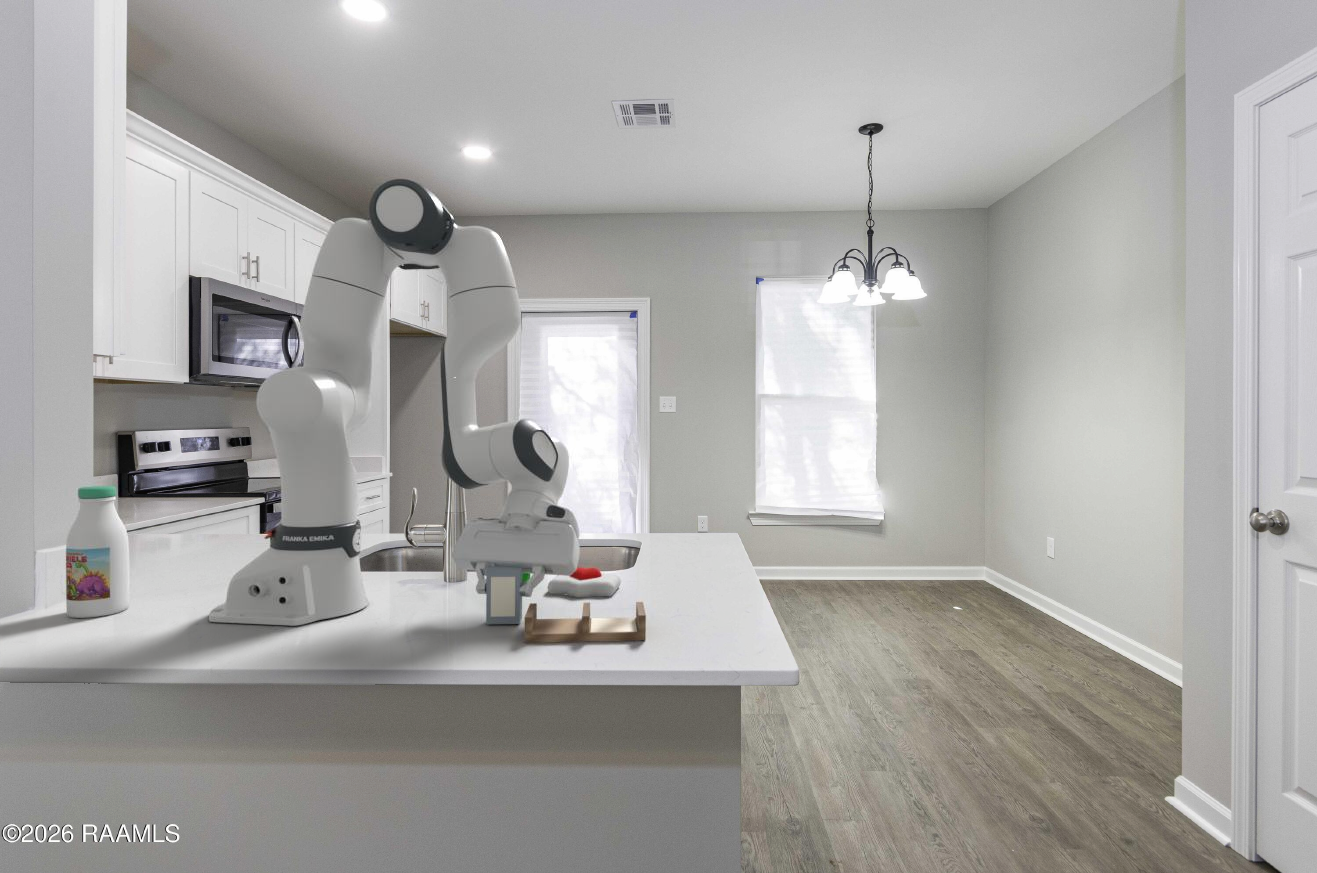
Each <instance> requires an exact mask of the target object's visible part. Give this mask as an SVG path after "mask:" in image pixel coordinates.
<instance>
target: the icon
mask: <svg viewBox="0 0 1317 873" xmlns="http://www.w3.org/2000/svg"><path fill="white" fill-rule="evenodd" d="M621 582H622V581H621V577H620V575H618V574H616V573H605V572H603V573H602V572H601V571H600V570H599V569H598V568H595V567H588V568H584V567H581V566H579V567H578V566H577V570H576V571H575V572H574V573H573V574H572V575H570V576H565V575H555V577H553V578H552V579H551V580H550V581H549V582H548V584H547V590H548V593H549V594H551V595H560V594H567V595H566V596H569V595H570V596H569V597H572V596H573V598H576V599H580V597H581V598H587V597H588V596H589V597H602V596H609V597H612V596H613V595H614V594H615V592H616V591H617V590H618V588H619V587H620V585H621Z"/></svg>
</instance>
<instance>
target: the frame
mask: <svg viewBox="0 0 1317 873" xmlns="http://www.w3.org/2000/svg"><path fill="white" fill-rule="evenodd" d="M485 577H486V578H485V579H486V594H485V595H486V596H485V597H486V598H485V599H486V601H485V602H486V603H485V604H486V605H485V610H486V611H485V616H486V617H485V619H486V620H485V625H520V624H521V622H522V619H523V597H522V596H521V594H520V593H519V589H520V587H521V583H522V567H490V568H489V569H488V570H487V572H486V576H485Z"/></svg>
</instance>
